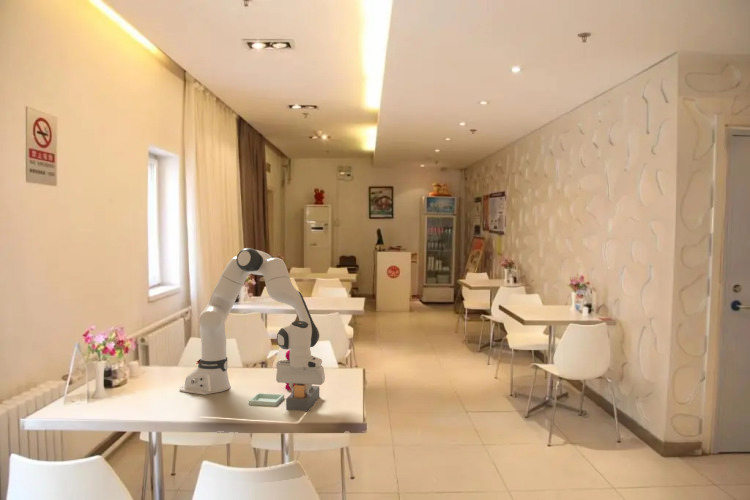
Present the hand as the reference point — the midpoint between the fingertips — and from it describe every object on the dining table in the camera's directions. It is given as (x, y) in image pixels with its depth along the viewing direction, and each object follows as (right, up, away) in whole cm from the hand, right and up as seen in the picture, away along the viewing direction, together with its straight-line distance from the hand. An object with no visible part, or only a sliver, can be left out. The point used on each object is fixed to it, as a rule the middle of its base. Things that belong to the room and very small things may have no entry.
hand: (300, 393), depth 208 cm
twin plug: (+1, -3, +8) cm, 9 cm away
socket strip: (+1, -6, +4) cm, 7 cm away
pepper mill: (-7, -5, +24) cm, 25 cm away
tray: (-15, -5, +6) cm, 17 cm away
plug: (0, -3, 0) cm, 3 cm away
